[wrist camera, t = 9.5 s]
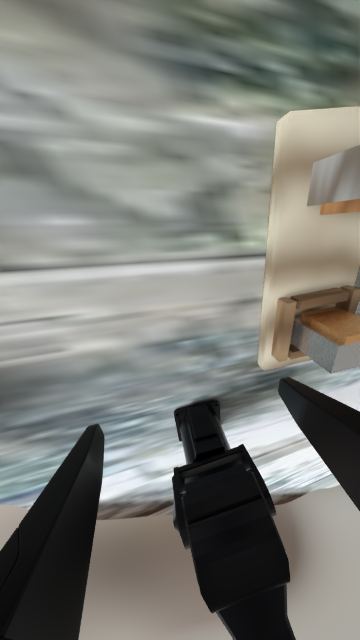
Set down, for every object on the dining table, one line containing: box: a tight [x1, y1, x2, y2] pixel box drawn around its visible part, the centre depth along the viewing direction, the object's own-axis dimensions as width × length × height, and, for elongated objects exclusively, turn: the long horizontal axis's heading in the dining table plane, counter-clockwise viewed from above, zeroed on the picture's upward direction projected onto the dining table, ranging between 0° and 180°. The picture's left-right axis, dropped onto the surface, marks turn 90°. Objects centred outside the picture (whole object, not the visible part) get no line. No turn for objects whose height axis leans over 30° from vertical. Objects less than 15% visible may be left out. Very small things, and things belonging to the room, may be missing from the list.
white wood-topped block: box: [290, 307, 360, 373], centre depth 19 cm, size 4×5×6 cm
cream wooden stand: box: [258, 106, 360, 371], centre depth 17 cm, size 24×10×8 cm, turn 7°
